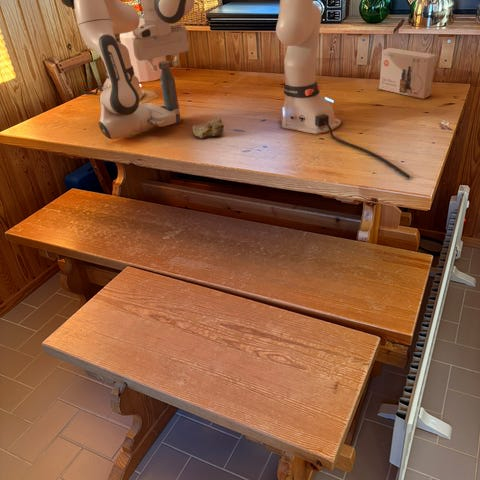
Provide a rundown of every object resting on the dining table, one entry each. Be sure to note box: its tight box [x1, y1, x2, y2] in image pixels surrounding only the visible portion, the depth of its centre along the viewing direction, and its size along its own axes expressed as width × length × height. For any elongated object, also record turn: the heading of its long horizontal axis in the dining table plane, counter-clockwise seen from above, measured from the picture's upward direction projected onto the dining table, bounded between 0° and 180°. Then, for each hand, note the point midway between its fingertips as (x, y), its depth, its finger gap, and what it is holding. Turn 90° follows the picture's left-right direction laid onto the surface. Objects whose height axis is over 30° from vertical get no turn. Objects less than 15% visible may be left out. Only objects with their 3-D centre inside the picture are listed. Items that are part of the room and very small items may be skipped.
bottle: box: [159, 68, 182, 126], centre depth 177 cm, size 6×6×22 cm
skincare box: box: [378, 47, 437, 100], centre depth 184 cm, size 21×6×16 cm, turn 40°
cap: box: [159, 60, 172, 69], centre depth 171 cm, size 4×4×2 cm
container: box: [119, 17, 167, 83], centre depth 235 cm, size 21×21×28 cm
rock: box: [192, 116, 225, 139], centre depth 168 cm, size 11×6×10 cm
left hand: (174, 108), depth 181 cm, fingers closed on bottle, 5 cm apart
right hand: (165, 68), depth 171 cm, fingers open, 7 cm apart
